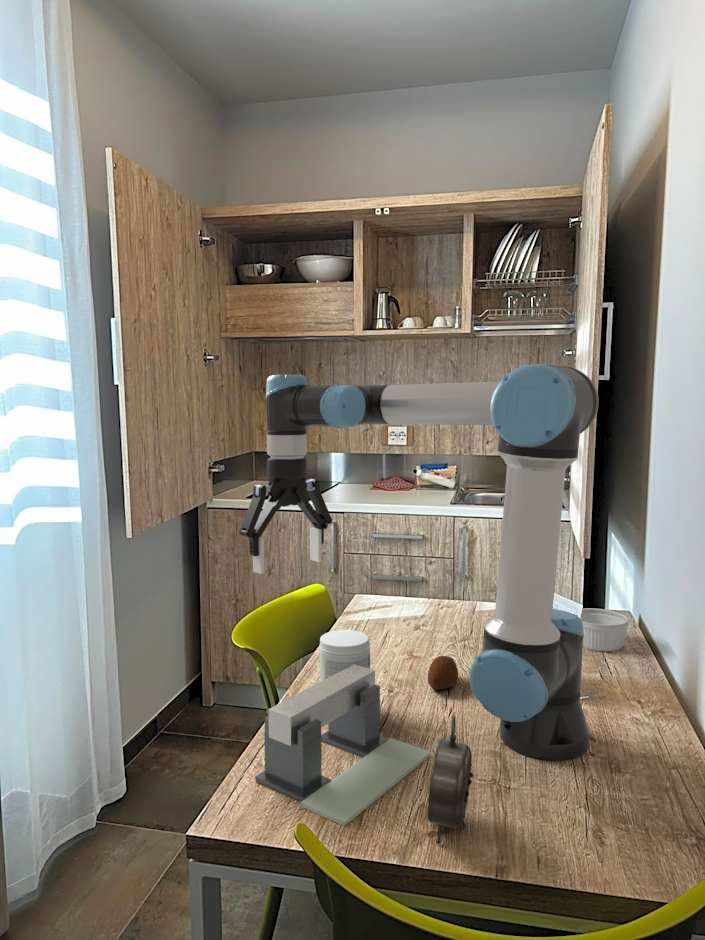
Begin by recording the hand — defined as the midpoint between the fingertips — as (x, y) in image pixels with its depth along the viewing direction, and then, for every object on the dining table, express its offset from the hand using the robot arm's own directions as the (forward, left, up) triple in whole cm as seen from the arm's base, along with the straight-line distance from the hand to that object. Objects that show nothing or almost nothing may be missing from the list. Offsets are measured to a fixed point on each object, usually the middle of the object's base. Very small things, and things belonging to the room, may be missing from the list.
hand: (288, 566), depth 136 cm
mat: (-29, +14, -27) cm, 42 cm away
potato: (-21, -24, -27) cm, 42 cm away
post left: (-20, +22, -27) cm, 40 cm away
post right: (-20, +6, -27) cm, 34 cm away
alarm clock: (-45, +17, -27) cm, 55 cm away
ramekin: (-39, -68, -27) cm, 83 cm away
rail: (-20, +14, -19) cm, 31 cm away
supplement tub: (-12, -2, -27) cm, 30 cm away
